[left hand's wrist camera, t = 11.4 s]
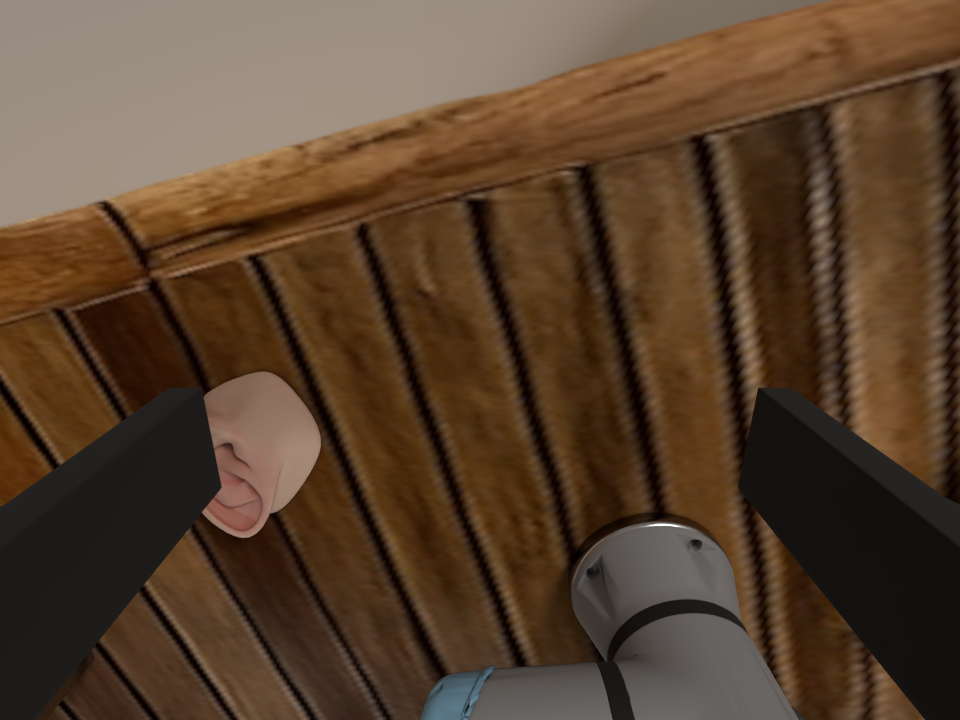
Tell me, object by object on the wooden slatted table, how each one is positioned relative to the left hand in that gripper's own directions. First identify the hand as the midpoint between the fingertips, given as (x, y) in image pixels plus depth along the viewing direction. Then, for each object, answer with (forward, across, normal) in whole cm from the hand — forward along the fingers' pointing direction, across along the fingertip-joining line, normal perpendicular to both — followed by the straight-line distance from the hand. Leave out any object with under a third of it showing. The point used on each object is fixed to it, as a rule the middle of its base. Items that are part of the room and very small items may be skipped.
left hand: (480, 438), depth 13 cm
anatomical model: (+29, +20, +17) cm, 39 cm away
